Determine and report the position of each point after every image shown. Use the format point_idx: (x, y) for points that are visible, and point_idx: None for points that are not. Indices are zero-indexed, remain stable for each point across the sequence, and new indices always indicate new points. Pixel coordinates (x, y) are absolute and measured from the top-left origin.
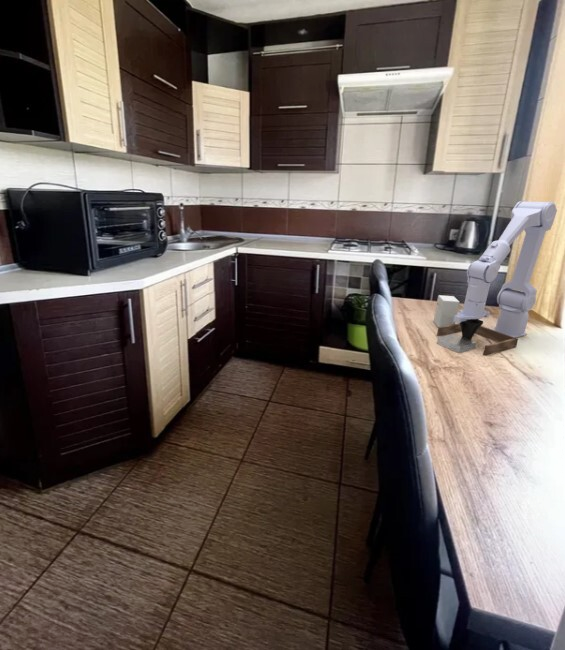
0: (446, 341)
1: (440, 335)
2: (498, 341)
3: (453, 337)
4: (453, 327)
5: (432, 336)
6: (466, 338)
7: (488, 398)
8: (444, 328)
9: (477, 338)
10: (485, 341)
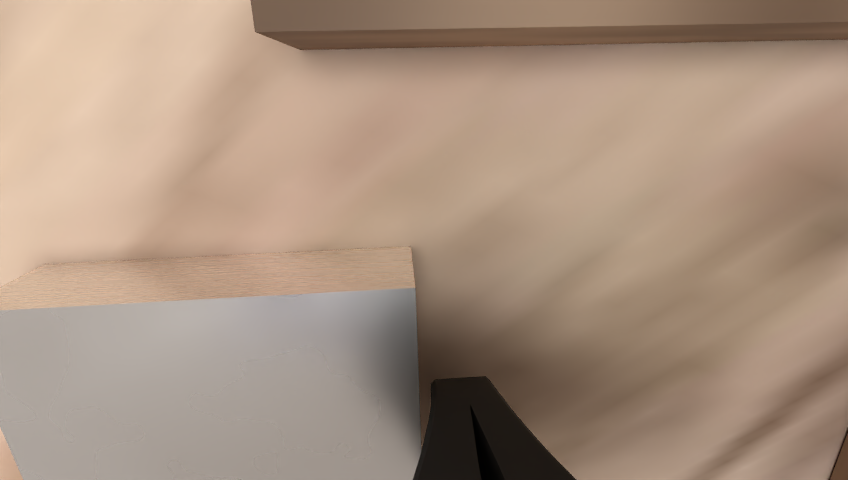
0: (20, 453)
1: (344, 47)
2: (841, 465)
3: (252, 393)
4: (720, 30)
5: (183, 4)
6: None
7: None
8: (419, 35)
9: (757, 322)
10: (735, 411)
